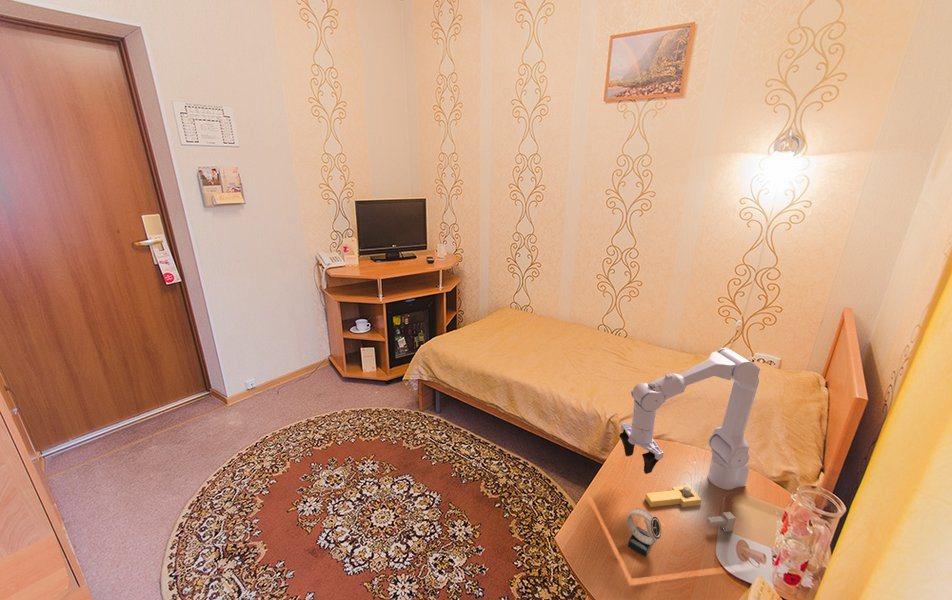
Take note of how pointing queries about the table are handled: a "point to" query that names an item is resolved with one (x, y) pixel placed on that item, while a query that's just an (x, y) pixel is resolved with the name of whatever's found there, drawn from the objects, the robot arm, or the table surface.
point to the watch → (643, 531)
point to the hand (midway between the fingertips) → (638, 463)
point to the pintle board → (724, 520)
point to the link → (673, 498)
